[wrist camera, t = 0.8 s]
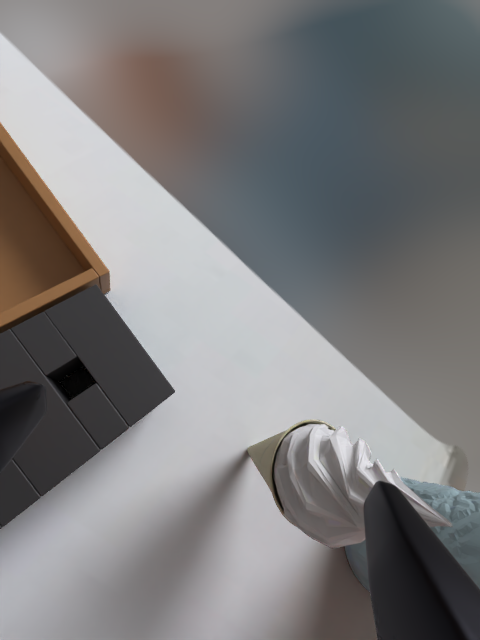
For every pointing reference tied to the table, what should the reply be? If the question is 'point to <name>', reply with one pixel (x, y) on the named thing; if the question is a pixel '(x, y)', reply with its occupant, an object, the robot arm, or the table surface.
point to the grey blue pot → (439, 528)
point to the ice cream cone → (327, 481)
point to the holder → (86, 408)
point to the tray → (38, 244)
